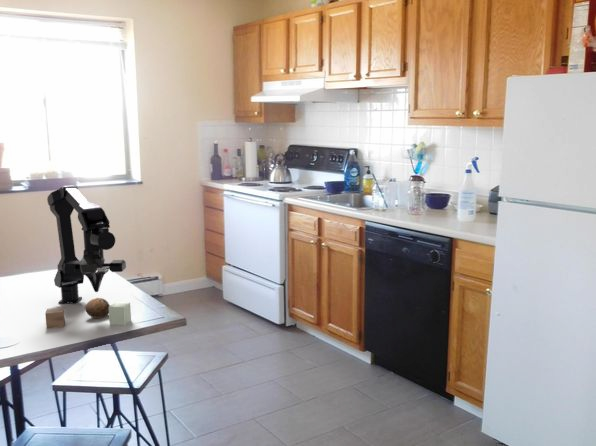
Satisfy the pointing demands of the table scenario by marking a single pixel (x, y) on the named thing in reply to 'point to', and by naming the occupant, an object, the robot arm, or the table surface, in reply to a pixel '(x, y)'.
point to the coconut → (97, 308)
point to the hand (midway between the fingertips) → (96, 291)
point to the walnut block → (55, 317)
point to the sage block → (119, 313)
